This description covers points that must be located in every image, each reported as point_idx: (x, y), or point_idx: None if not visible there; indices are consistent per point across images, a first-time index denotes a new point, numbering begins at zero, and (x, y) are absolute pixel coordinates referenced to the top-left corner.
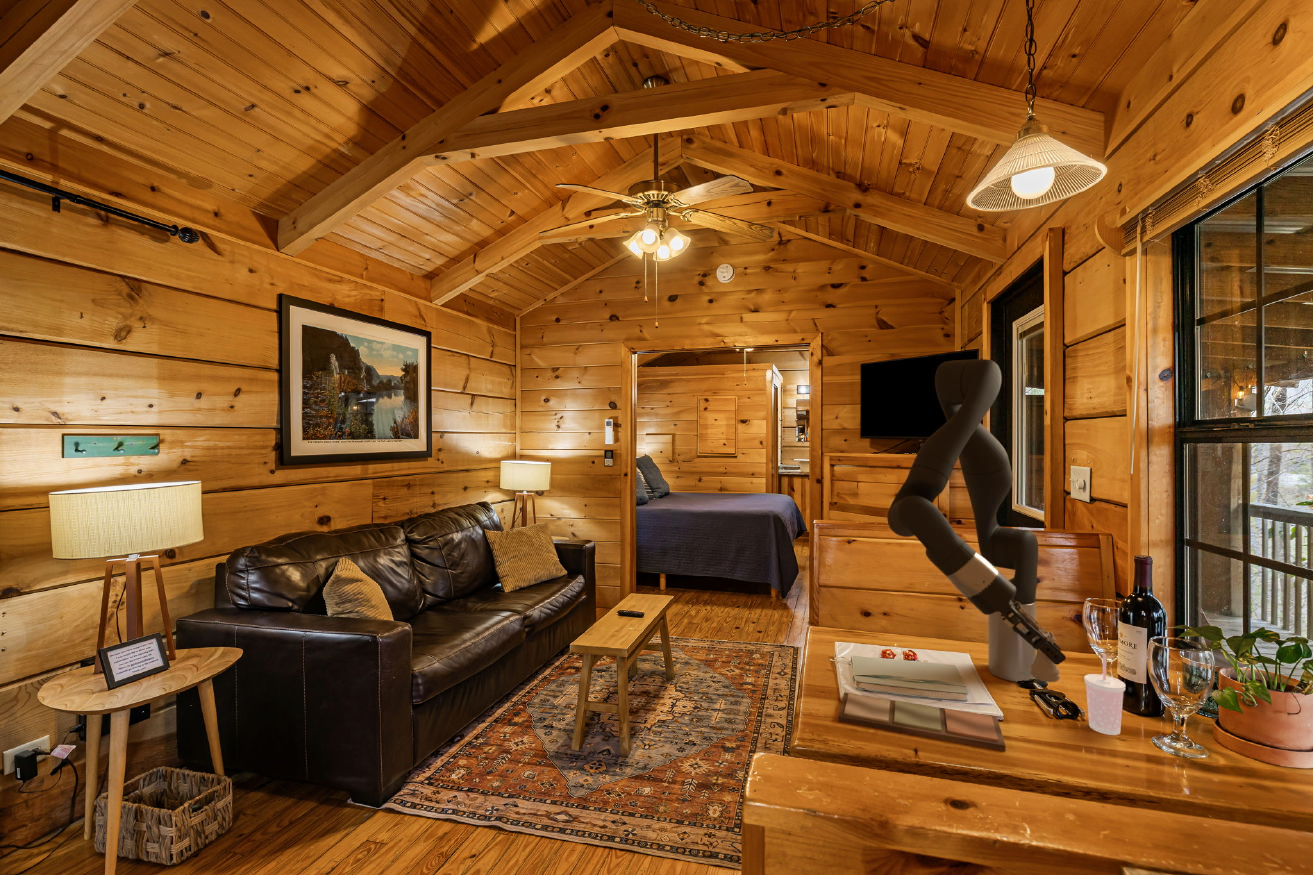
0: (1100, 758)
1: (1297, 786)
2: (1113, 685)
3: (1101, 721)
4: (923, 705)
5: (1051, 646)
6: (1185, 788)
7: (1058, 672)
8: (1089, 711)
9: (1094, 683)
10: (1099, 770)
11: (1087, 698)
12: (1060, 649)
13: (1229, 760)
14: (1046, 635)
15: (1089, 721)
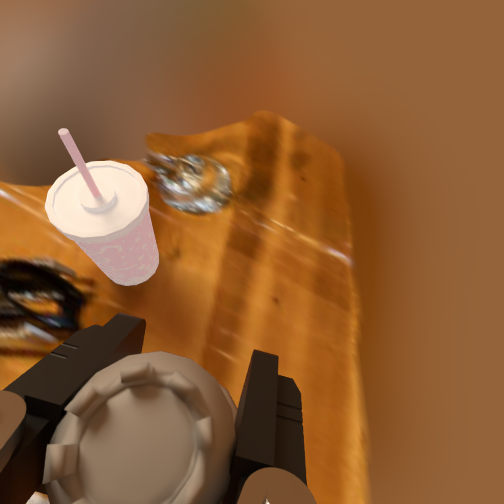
0: (255, 336)
1: (288, 124)
2: (125, 190)
3: (145, 266)
4: None
5: (275, 446)
6: (330, 250)
7: (222, 388)
8: (114, 272)
9: (113, 229)
10: (304, 364)
11: (95, 258)
12: (145, 321)
13: (232, 149)
14: (166, 444)
15: (117, 280)
